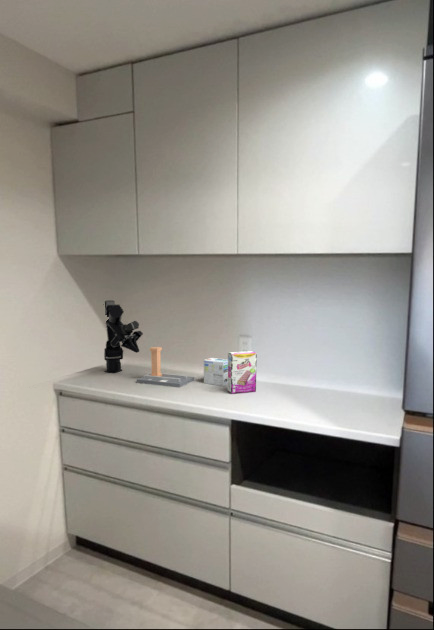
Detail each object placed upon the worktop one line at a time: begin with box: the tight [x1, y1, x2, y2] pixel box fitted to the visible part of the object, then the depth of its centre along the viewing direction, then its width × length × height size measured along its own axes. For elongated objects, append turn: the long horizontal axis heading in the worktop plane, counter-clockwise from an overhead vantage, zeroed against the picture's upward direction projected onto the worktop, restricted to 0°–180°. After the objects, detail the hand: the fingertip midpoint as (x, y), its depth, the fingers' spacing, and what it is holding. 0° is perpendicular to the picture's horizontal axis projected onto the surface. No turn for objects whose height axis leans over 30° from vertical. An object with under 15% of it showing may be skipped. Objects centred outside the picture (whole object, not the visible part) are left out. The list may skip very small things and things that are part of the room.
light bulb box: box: [203, 357, 228, 387], centre depth 193 cm, size 11×7×11 cm, turn 58°
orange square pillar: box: [149, 346, 163, 376], centre depth 198 cm, size 4×4×13 cm
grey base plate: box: [136, 372, 195, 388], centre depth 197 cm, size 22×14×3 cm, turn 66°
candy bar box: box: [227, 350, 258, 395], centre depth 178 cm, size 11×5×16 cm, turn 109°
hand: (138, 351), depth 202 cm, fingers closed
